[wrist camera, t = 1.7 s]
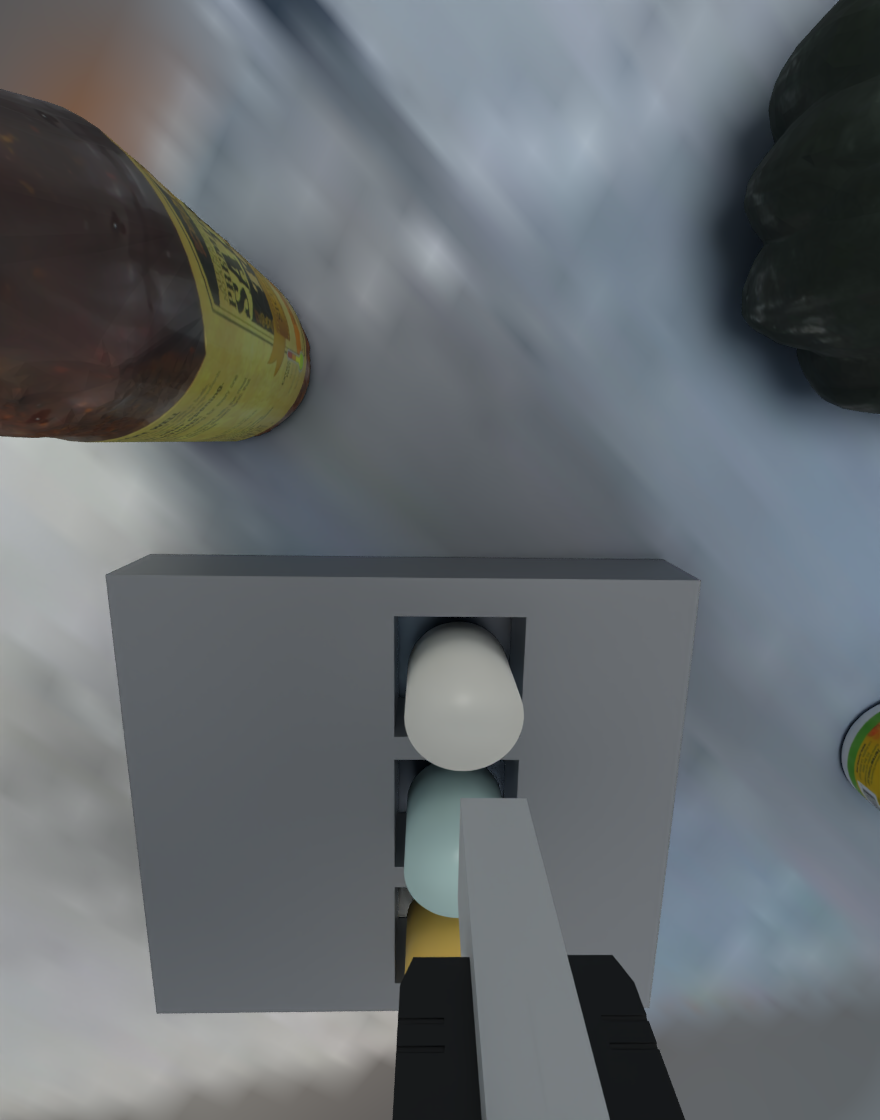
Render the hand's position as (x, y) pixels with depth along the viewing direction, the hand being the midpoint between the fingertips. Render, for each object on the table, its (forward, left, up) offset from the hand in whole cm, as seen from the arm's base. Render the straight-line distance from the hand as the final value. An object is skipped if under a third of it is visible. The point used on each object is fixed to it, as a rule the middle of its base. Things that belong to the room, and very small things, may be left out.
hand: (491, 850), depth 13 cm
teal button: (0, -6, -10) cm, 12 cm away
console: (-2, -6, -13) cm, 14 cm away
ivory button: (0, 0, -10) cm, 10 cm away
